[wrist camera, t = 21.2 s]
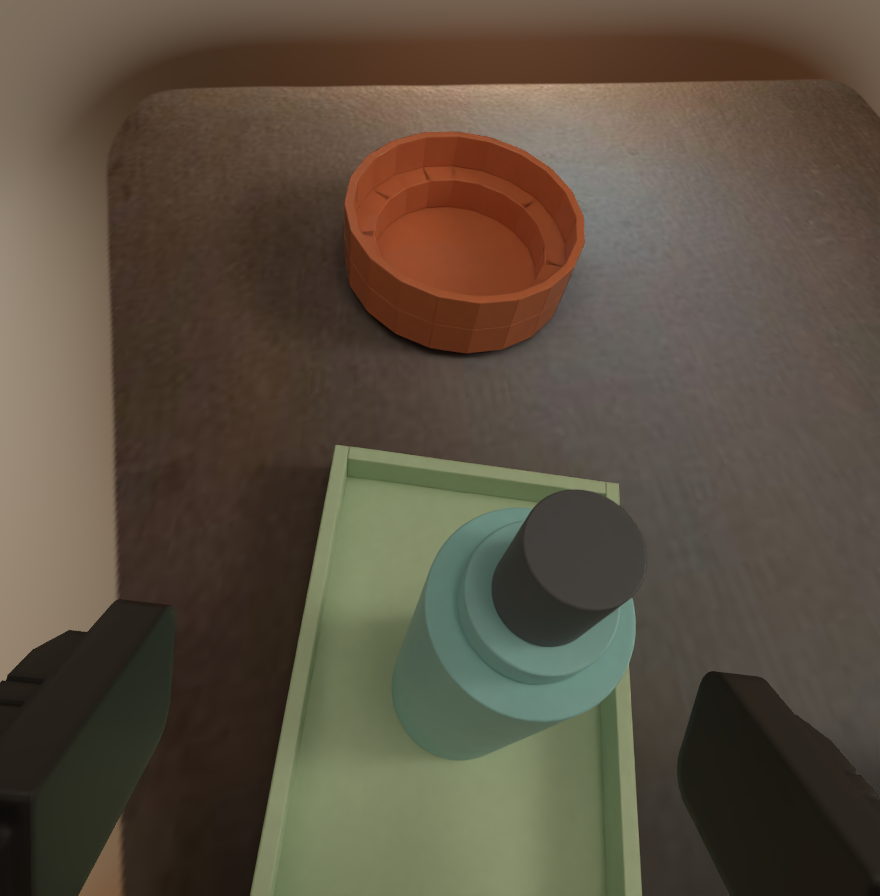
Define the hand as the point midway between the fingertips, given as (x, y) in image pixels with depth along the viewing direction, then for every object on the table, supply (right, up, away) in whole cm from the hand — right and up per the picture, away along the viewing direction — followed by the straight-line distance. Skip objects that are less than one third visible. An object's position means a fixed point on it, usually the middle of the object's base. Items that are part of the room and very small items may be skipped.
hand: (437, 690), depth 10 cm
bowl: (+1, +15, +33) cm, 36 cm away
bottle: (+1, -7, +20) cm, 21 cm away
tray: (+1, -7, +20) cm, 21 cm away
